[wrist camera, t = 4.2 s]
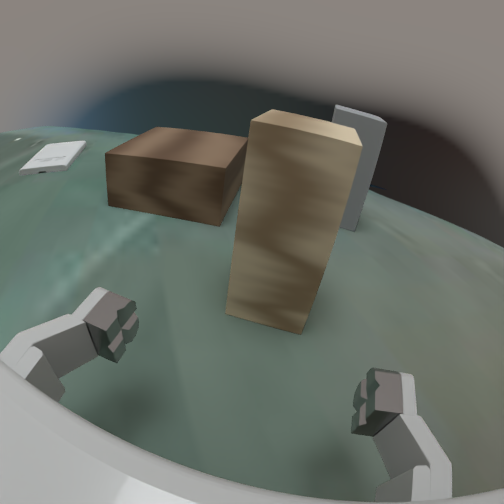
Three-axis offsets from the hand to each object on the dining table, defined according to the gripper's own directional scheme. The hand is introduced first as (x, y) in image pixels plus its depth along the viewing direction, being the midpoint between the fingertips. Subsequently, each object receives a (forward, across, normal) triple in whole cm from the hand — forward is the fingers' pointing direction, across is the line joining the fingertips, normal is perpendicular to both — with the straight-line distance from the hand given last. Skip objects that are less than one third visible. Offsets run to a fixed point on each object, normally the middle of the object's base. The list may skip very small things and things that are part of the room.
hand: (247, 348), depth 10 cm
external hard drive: (+26, +38, +7) cm, 46 cm away
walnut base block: (+23, +13, +7) cm, 27 cm away
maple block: (+10, 0, +6) cm, 12 cm away
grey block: (+26, -4, +6) cm, 27 cm away
